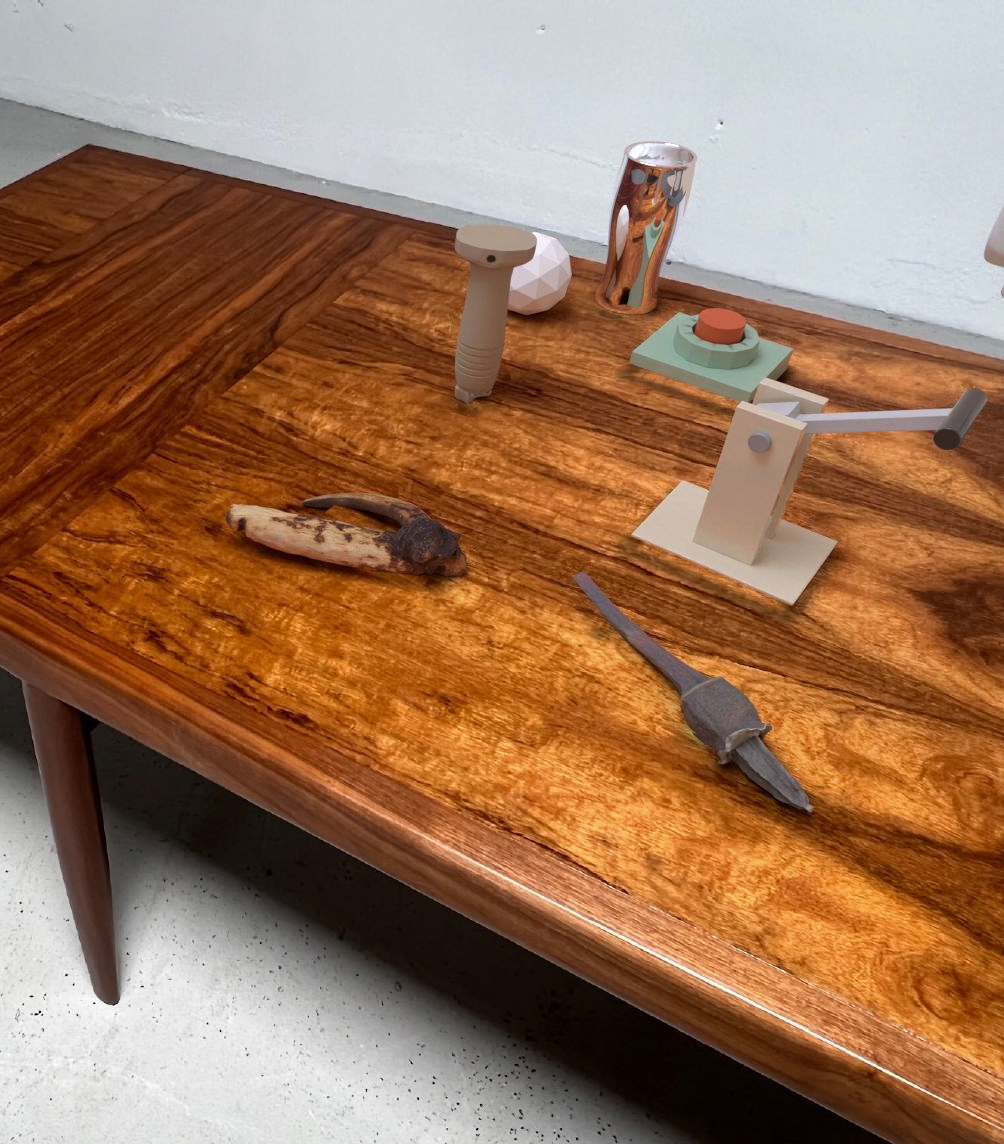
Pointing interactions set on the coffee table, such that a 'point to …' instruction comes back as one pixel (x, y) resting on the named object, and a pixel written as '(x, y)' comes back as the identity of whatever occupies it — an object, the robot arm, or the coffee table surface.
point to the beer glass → (644, 223)
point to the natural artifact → (710, 708)
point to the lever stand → (749, 503)
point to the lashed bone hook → (357, 535)
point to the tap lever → (895, 419)
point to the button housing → (712, 359)
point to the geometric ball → (540, 278)
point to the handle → (486, 302)
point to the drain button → (720, 326)
